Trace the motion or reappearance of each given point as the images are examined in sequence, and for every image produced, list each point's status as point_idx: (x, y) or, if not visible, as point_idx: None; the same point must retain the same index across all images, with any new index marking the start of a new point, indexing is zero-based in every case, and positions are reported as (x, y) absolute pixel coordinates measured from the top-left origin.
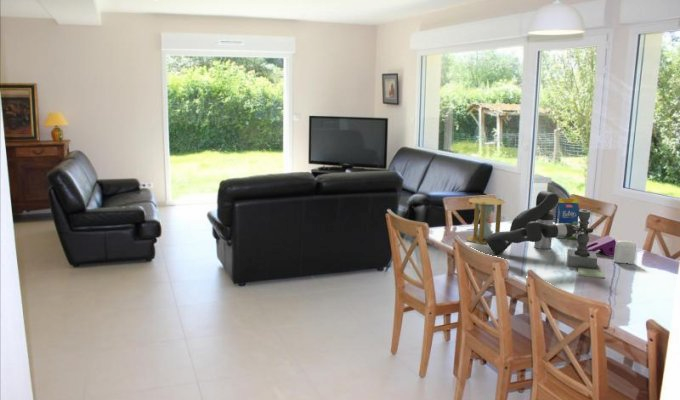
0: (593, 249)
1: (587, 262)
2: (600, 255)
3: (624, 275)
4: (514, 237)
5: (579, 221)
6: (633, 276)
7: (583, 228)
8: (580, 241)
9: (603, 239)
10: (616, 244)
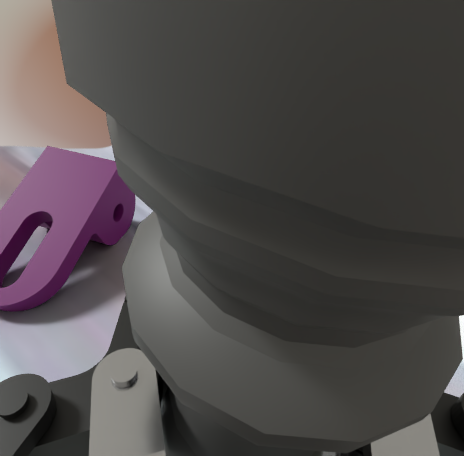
0: (64, 268)
1: None
2: (98, 267)
3: (456, 396)
4: None
5: (234, 366)
6: (461, 361)
7: (388, 447)
8: None
9: (54, 178)
10: None
